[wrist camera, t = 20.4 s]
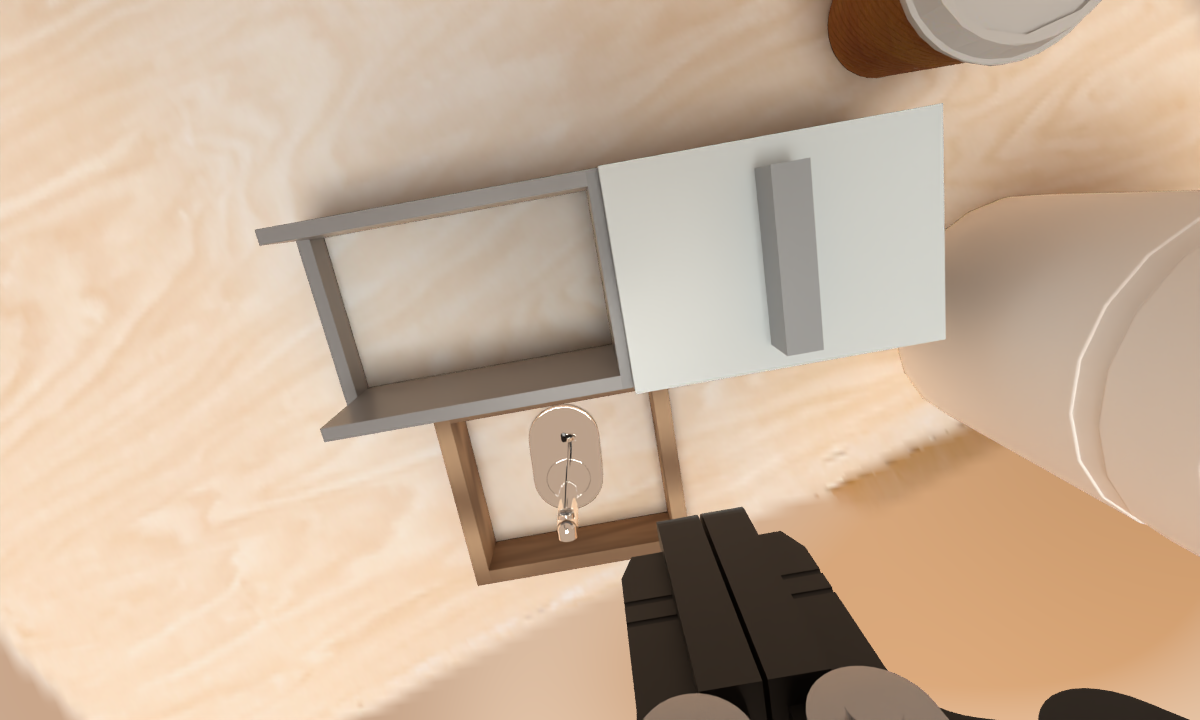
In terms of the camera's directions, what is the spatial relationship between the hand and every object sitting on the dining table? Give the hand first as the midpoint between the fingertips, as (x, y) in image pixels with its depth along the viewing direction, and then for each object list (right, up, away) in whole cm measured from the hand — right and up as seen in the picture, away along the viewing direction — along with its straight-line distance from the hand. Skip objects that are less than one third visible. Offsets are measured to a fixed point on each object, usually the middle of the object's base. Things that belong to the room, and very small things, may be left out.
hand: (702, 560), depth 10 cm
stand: (-4, -3, +31) cm, 32 cm away
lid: (+7, +9, +20) cm, 23 cm away
